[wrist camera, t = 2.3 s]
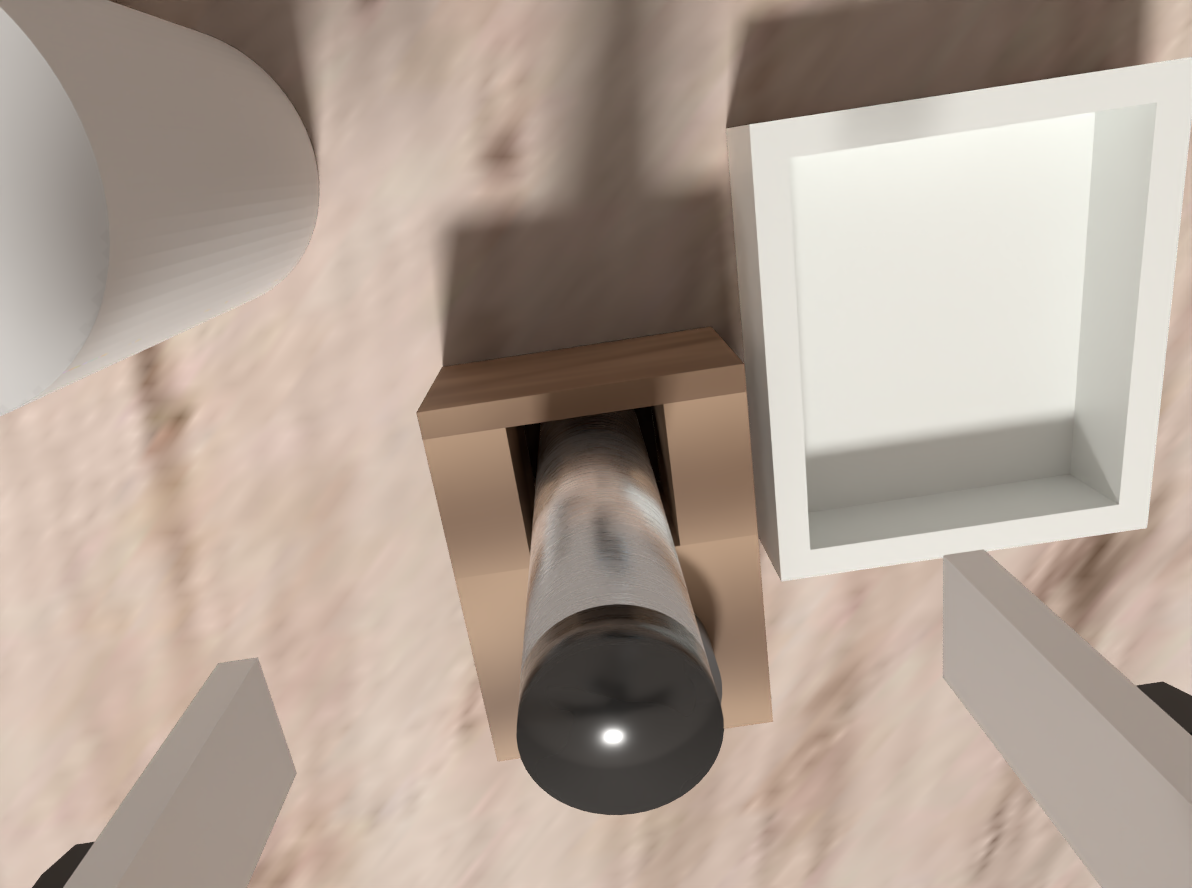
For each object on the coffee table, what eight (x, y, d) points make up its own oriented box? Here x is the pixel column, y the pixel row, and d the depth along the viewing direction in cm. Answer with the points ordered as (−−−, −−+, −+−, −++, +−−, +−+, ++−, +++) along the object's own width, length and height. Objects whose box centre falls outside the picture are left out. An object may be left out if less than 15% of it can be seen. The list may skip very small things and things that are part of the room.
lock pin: (532, 391, 27) (498, 662, 12) (632, 376, 27) (713, 630, 12) (548, 483, 28) (535, 827, 14) (644, 469, 28) (732, 799, 13)
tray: (725, 128, 24) (749, 124, 21) (1118, 68, 24) (1198, 56, 21) (758, 537, 29) (781, 581, 26) (1085, 489, 29) (1146, 527, 26)
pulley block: (442, 366, 26) (397, 445, 19) (711, 326, 26) (767, 390, 19) (507, 667, 30) (490, 824, 23) (740, 633, 30) (795, 781, 23)
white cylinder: (-19, 100, 23) (-577, 46, 12) (223, -27, 22) (-127, -217, 11) (146, 350, 26) (-179, 501, 14) (368, 244, 25) (207, 317, 14)
